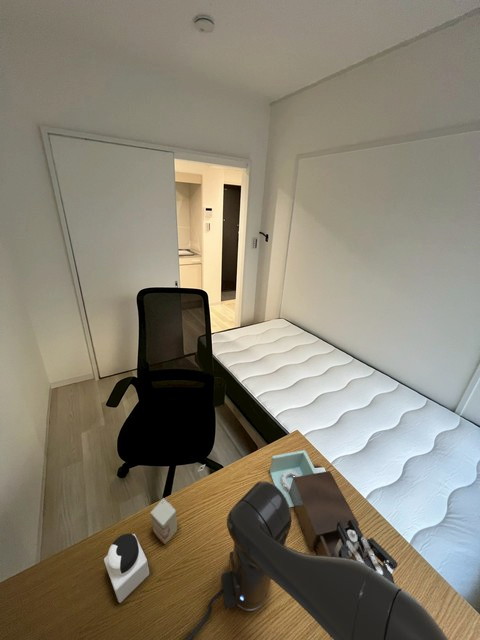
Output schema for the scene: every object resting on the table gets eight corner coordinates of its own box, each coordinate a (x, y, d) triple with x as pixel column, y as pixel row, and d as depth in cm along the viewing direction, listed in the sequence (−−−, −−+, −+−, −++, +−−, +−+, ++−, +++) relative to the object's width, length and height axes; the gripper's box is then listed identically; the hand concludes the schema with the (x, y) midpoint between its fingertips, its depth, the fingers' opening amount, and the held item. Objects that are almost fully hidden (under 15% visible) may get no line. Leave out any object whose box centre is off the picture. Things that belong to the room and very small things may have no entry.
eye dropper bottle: (355, 571, 60) (369, 545, 55) (332, 568, 60) (344, 542, 55) (349, 548, 64) (362, 523, 59) (328, 545, 64) (338, 520, 59)
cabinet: (351, 540, 68) (359, 524, 64) (310, 551, 65) (316, 535, 61) (324, 486, 80) (329, 470, 77) (288, 493, 78) (293, 477, 74)
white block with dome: (137, 546, 63) (131, 521, 58) (150, 574, 59) (145, 549, 53) (108, 572, 58) (99, 547, 53) (119, 604, 54) (111, 580, 49)
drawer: (386, 611, 55) (395, 600, 53) (342, 627, 53) (349, 616, 50) (340, 519, 71) (346, 507, 69) (304, 528, 69) (309, 515, 66)
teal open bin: (269, 470, 84) (272, 456, 81) (301, 464, 87) (304, 449, 84) (283, 508, 73) (287, 494, 70) (318, 500, 76) (323, 485, 73)
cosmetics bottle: (152, 532, 66) (149, 511, 62) (165, 517, 69) (163, 496, 65) (165, 546, 63) (162, 526, 59) (178, 530, 67) (176, 509, 62)
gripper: (436, 610, 45) (372, 508, 60) (372, 634, 42) (322, 519, 57) (421, 626, 48) (363, 524, 64) (361, 649, 45) (315, 536, 60)
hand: (344, 522), depth 60 cm, fingers closed on eye dropper bottle, 2 cm apart
